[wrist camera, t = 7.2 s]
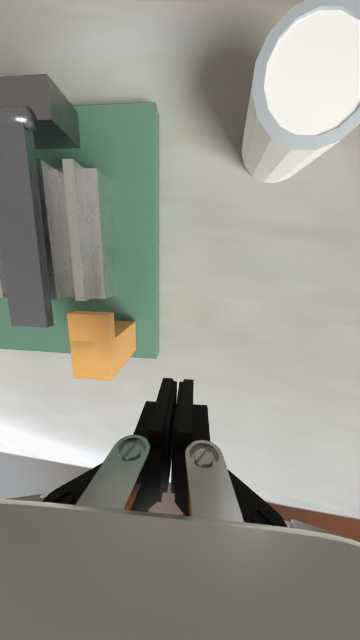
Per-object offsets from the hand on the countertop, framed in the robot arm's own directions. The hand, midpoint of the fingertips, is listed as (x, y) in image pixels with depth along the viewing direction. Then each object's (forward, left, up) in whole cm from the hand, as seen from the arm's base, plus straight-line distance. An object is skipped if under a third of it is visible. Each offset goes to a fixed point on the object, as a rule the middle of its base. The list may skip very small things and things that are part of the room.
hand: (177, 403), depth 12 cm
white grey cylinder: (-7, -17, -12) cm, 22 cm away
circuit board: (+12, -9, -12) cm, 19 cm away
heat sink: (+12, -12, -10) cm, 20 cm away
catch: (+7, -1, -10) cm, 12 cm away
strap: (+12, -10, -6) cm, 17 cm away
